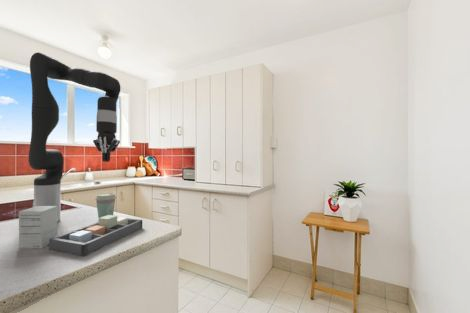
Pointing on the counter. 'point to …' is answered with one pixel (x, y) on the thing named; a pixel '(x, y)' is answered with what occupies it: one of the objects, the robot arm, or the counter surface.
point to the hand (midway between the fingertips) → (106, 161)
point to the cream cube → (122, 220)
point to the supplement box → (37, 226)
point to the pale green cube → (108, 221)
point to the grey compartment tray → (93, 238)
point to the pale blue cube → (81, 236)
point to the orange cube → (97, 230)
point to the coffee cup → (105, 204)
